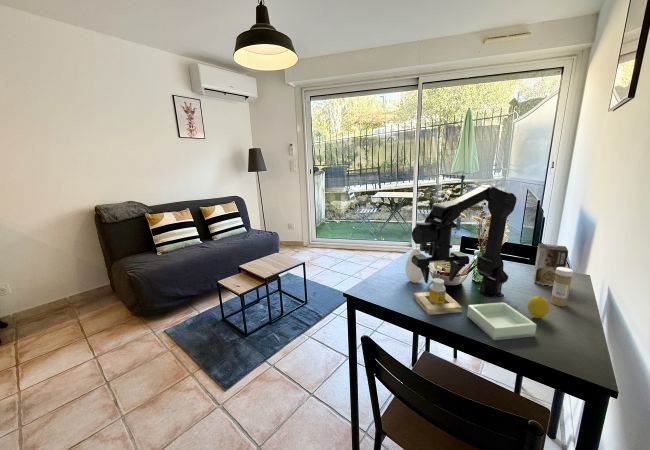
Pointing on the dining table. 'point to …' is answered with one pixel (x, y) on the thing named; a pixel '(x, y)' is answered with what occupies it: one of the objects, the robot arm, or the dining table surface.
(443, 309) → the socket block
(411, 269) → the sauce bottle
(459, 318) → the dining table surface
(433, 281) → the supplement bottle
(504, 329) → the tray
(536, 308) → the lemon
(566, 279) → the sprinkles bottle
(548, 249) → the coffee box
